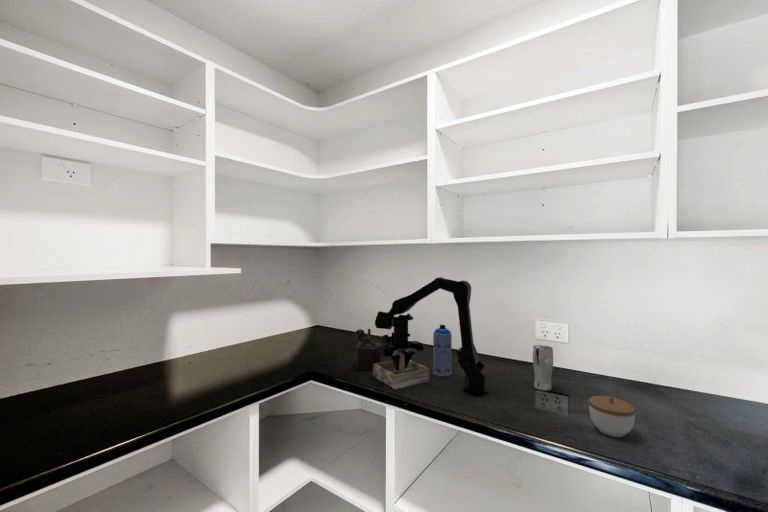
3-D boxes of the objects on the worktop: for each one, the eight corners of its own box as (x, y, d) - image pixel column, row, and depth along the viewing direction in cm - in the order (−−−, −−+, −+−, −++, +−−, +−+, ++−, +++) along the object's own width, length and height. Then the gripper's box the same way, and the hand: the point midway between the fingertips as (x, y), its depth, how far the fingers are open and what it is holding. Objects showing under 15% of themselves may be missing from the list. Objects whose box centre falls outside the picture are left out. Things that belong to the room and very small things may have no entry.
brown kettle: (355, 362, 152) (355, 323, 152) (379, 362, 153) (379, 323, 153) (354, 374, 136) (354, 330, 137) (381, 374, 137) (381, 330, 137)
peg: (406, 378, 131) (406, 355, 131) (399, 379, 130) (399, 356, 130) (401, 375, 134) (401, 353, 134) (395, 377, 132) (395, 354, 132)
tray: (429, 381, 129) (429, 368, 129) (394, 389, 121) (394, 375, 121) (405, 369, 143) (405, 358, 143) (373, 376, 134) (373, 363, 134)
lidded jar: (608, 442, 87) (608, 406, 87) (579, 422, 97) (580, 390, 97) (645, 441, 88) (645, 405, 88) (613, 421, 98) (613, 389, 98)
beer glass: (555, 391, 120) (555, 350, 120) (535, 390, 121) (535, 349, 121) (550, 384, 127) (550, 345, 127) (530, 383, 128) (530, 344, 128)
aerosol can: (455, 373, 139) (455, 325, 139) (444, 377, 133) (444, 327, 134) (440, 368, 145) (440, 322, 145) (428, 372, 139) (429, 324, 139)
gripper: (408, 324, 144) (408, 361, 143) (370, 329, 134) (370, 368, 134) (424, 329, 134) (424, 368, 134) (384, 334, 124) (384, 376, 124)
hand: (400, 370), depth 132 cm, fingers closed on peg, 3 cm apart
